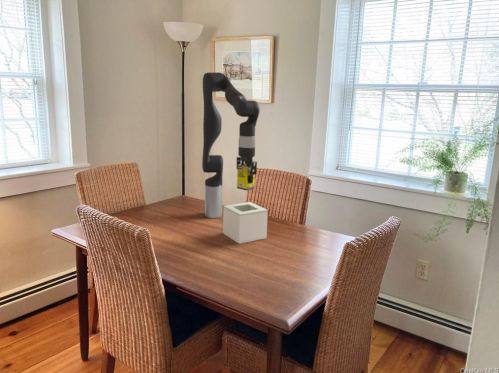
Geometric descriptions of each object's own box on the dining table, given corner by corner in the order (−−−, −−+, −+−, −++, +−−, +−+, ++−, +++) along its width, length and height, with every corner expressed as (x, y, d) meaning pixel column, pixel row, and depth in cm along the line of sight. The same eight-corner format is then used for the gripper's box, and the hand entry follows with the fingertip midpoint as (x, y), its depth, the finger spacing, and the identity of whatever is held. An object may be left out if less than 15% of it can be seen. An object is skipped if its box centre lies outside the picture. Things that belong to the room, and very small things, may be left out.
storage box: (223, 233, 198) (223, 205, 194) (249, 228, 206) (250, 201, 202) (239, 243, 185) (239, 214, 182) (266, 238, 193) (267, 209, 190)
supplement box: (246, 190, 186) (247, 167, 183) (236, 188, 189) (237, 165, 187) (254, 188, 191) (255, 165, 188) (244, 186, 194) (245, 163, 191)
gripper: (231, 144, 189) (231, 179, 193) (248, 148, 177) (247, 185, 181) (245, 143, 193) (244, 177, 197) (262, 147, 181) (261, 183, 185)
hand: (245, 181), depth 189 cm, fingers closed on supplement box, 7 cm apart
